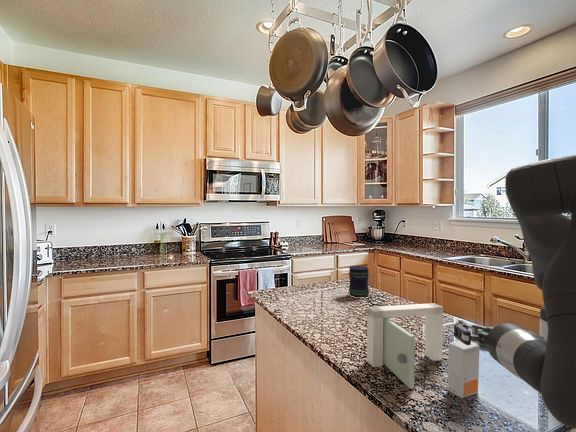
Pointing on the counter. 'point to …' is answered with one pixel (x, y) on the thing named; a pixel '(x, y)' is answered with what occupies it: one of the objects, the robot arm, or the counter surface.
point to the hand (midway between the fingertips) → (480, 326)
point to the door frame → (378, 313)
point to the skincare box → (463, 369)
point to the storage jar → (358, 281)
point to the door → (399, 351)
